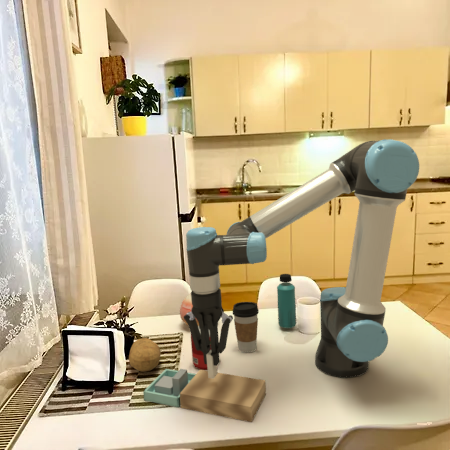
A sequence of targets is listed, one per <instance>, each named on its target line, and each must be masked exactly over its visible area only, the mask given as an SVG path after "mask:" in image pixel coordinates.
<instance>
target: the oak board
mask: <svg viewBox="0 0 450 450" xmlns="http://www.w3.org/2000/svg"><path fill="white" fill-rule="evenodd" d="M195 374H196V375H195V376H194V377H193V378H192V380H191V381H190V382H189V383H188V384H187V386H186V387H185V388H184V389H183V390H182V391H181V393H180V403H181V406H180V408H181V409H186V410H188V411H190V410H191V411H195V412H199V413H205V414H209V415H214V416H220V417H224V418H229V419H233V420H239V421H244V422H249V423H253V420H254V419H255V417H256V414H257V413H258V411H259V409H260V406H261V405H262V403H263V401H264V399H265V397H266V395H267V388H266V387H267V385H266V380H265V379H260V378H254V377H247V376H242V375H237V374H236V375H235V374H227V373H222V372H218V374H217V375H216V376H215V378H214V379H212V378H208V370H201V369H198V371H197V372H196V373H195Z"/></svg>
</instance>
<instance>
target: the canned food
mask: <svg viewBox="0 0 450 450" xmlns="http://www.w3.org/2000/svg"><path fill="white" fill-rule="evenodd" d="M198 328H199V326H198ZM199 331H200V329H199ZM200 334H201V332H200ZM209 339H210V330H209ZM190 343H191V344H190V345H191V359H192V365H193V367H195V368H196V369H198V370H205V371H208V368H207V364H205V363H204V356H203V352H202V351H200V350H199V351H197V350H196V348H195V345H194V342H193V338H192V335H191V334H190ZM210 347H211V341H210ZM210 350H211V348H210Z"/></svg>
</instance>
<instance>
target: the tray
mask: <svg viewBox="0 0 450 450" xmlns="http://www.w3.org/2000/svg"><path fill="white" fill-rule="evenodd" d="M178 371H179V370H175V369H174V370H173V369H169V368H165V369H164V370H163V371H162V372H161V373H160V374H159V375H158V376H157V377H156V378H155V379H154V380H153V381H152V382H151V383H150V384H149V385H148V386H147V387H146V388H145V389H144V390H143V392H142V393H143V394H142V395H143V400H144V401H146V402H151V403H156V404H161V405H164V406H165V405H166V406H169V407H170V406H171V407H174V408H175V407H176V408H181V403H180V394H179V396H174V395H173V394H172V395H168V394H162V393H157V392H155V386H154V385H155V384H156V383H157V382H158V381H159V380H160V379H161V378H162V377H163V376H168V377H174V375H175V374H176V373H177V372H178ZM196 374H197V373H193V372H188V383H189V382H190V381H191V380H192V378H193V377H194V376H195V375H196Z"/></svg>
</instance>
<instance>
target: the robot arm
mask: <svg viewBox="0 0 450 450" xmlns="http://www.w3.org/2000/svg"><path fill="white" fill-rule="evenodd" d="M419 160H420V159H419V157H418V154H417V153H416V151H415V150H414V149H413V148H412V147H411V146H410V145H409V144H407V143H406V142H403V141H400V140H395V139H392V138H391V139H385V138H384V139H381V140H367V141H365V142H362V143H360V144H359V145H357V146H355V147H353V148H352V149H350V150H349V151H347V152H346V153H345V154H343V155H341V156H340V157H338V158H337V159H335V160H334V161H333V162H331V163H329V167H328V169H326V170H325V171H323V172H321V173H320V174H318V175H316V176H315V177H313V178H311V179H310V180H308V181H306V182H305V183H303V184H301V185H299V186H298V187H296V188H295V189H294V190H291V191H289V192H288V193H286V194H285V195H283V196H281V197H280V198H278V199H277V200H274V201H273V202H272V203H270V204H269V205H267V206H265V207H263V208H261V209H260V210H258V211H256V212H255V213H253V214H251V215H250V216H248V217H247V218H245V219H242V220H241V221H237V222H234V223H233V224H231V225H230V226H229V227H228V229H227V231H226V234H218V233H217V230H216V228H214V227H211V226H200V227H195V228H191V229H189V230H187V232H186V234H185V236H186V237H185V238H186V241H185V243H186V257H187V265H188V275H189V289H190V291H191V292H190V293H191V300H192V305H193V307H192V310H191V312H188V313H187V314H186V315H185V316H184V319H185V321H186V322H187V323H188V325H187V326H188V328H189V332H190V336H191V335H192V338H193V342H194V345H195V348H196V350H197V351H199V350H200V351H202V352H203V356H204V363H205V364H207V368H208V370H207V371H208V378H212V379H214V378H215V376H216V375H217V374H218V373H219V371H218V365H219V364H220V362H221V361H220V354H222V353H223V352H224V351H225V350H226V348H227V342H228V336H229V329H230V324H231V323H232V321H233V320H234V315H228V314H226V312H225V310H224V308H223V305H222V304H223V303H222V302H223V301H222V290H221V278H220V276H221V275H220V266H233V265H246V264H247V265H249V264H250V265H255V264H259V263H264V262H265V261H266V260H267V258H268V257H267V255H268V254H267V251H268V250H267V249H268V248H267V238H269V237H271V236H273V235H274V234H276V233H277V232H279V231H281V230H282V229H284V228H286V227H288V226H290V225H291V224H293V223H295V222H296V221H298V220H300V219H302V218H303V217H305V216H307V215H308V214H309V213H311V212H313V211H315V210H317V209H319V208H320V207H321V206H323V205H325V204H327V203H328V202H330V201H333V200H334V199H335V198H337V197H338V196H341V195H342V194H348V195H349V194H351V193H353V192H354V196H355V197H356V198H357V200H358V201H359V205H358V210H357V217H356V222H355V228H354V237H353V242H352V248H351V253H350V260H349V267H348V273H347V280H346V286H345V287H344V286H342V287H341V286H335V287H328V288H325V289H323V290H321V292H320V298H319V303H320V305H319V306H320V340H319V343H318V346H317V348H316V352H315V356H314V357H315V358H314V363H315V366H316V367H317V369H318V370H319V371H321V372H323V373H325V374H326V375H328V376H332V377H336V378H337V377H338V378H346V379H347V378H355V377H359V376H363V375H364V374H366V373H367V372H368V370H369V367H370V365H369V362H371V361H374V360H375V359H376V358H378V357H380V356H382V354H383V353H384V352H385V351H386V349H387V347H388V344H389V336H388V332H387V330H386V328H385V326H384V322H385V315H386V306H385V305H384V304H383V302H382V301H381V300H382V294H383V289H384V282H385V276H386V271H387V265H388V259H389V253H390V248H391V242H392V239H393V238H392V237H393V231H394V226H395V225H394V224H395V219H396V215H397V208H398V206H399V205H401V204H403V203H404V202H405V201H406V198H407V192H408V189H409V188H410V187H411V186H413V185H414V183H415V182H416V181H417V178H418V176H419V173H420V161H419ZM195 318H196V319H197V320H198V322H199V328H198V325H197V321H196V319H195ZM220 320H221V324H222V325H221V328H220V336H219V329H218V326H219V321H220ZM199 329H200V331H199ZM209 330H210V339H209ZM200 332H201V334H200ZM210 341H211V347H210ZM210 348H211V350H210Z"/></svg>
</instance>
